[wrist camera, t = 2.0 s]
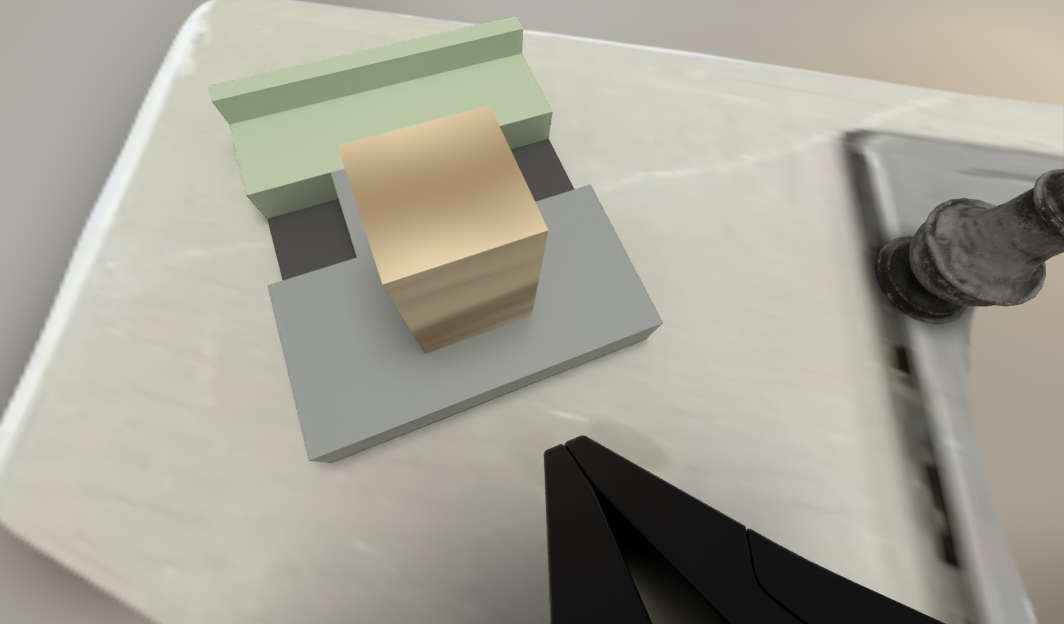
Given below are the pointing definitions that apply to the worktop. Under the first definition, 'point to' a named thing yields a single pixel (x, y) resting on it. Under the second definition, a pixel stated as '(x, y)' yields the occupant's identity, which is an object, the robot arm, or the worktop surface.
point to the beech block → (449, 225)
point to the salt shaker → (976, 253)
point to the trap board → (346, 258)
